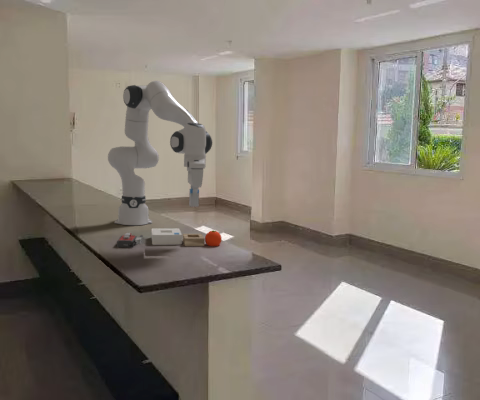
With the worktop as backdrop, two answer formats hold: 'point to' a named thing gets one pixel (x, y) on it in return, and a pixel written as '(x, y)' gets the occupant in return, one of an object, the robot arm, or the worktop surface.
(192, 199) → the plug
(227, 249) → the worktop surface
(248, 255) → the worktop surface
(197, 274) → the worktop surface
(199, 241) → the holster
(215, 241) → the clementine
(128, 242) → the walkie-talkie
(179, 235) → the port
